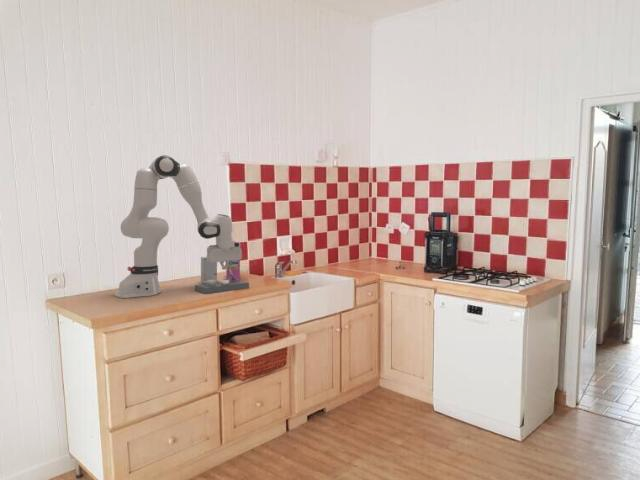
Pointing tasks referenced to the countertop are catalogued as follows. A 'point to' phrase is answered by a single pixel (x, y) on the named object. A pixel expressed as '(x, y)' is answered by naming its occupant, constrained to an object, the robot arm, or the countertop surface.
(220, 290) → the panel
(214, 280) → the grey button
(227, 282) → the cream button
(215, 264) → the skincare box
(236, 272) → the gum box
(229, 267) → the lever
